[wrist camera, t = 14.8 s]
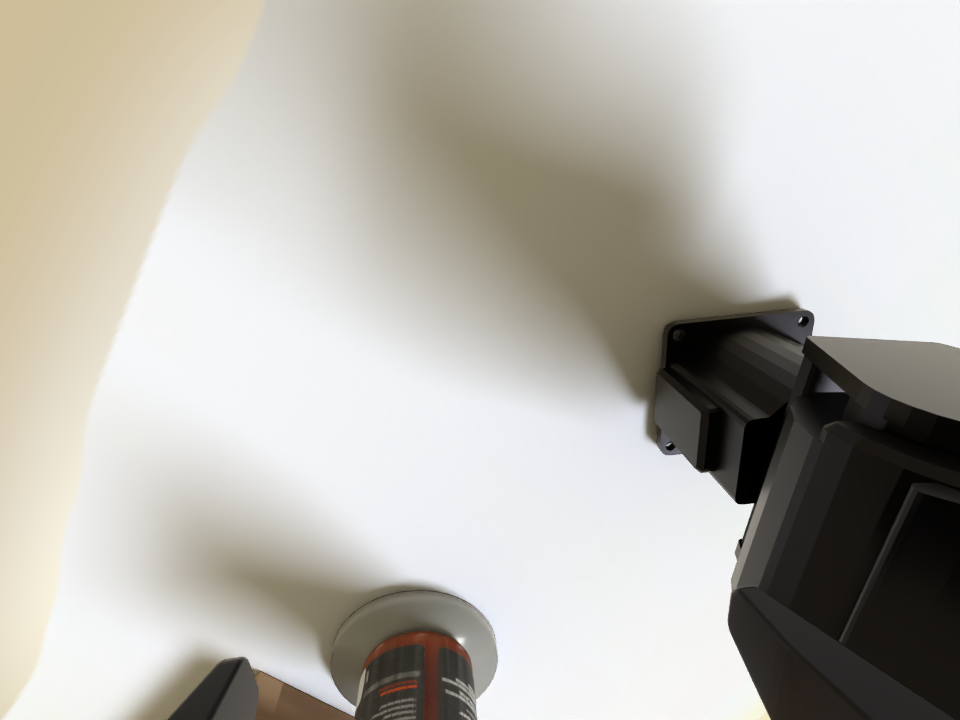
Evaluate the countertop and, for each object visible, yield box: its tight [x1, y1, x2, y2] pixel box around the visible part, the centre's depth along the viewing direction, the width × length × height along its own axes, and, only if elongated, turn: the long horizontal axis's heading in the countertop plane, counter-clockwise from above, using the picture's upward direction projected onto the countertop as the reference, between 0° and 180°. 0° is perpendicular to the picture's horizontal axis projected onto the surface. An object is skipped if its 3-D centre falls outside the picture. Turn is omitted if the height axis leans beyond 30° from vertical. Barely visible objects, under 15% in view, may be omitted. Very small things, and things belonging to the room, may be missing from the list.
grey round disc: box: [331, 591, 498, 706], centre depth 26 cm, size 9×9×1 cm
